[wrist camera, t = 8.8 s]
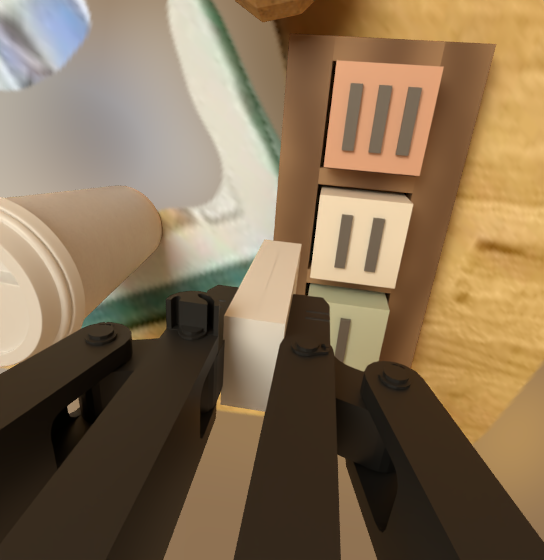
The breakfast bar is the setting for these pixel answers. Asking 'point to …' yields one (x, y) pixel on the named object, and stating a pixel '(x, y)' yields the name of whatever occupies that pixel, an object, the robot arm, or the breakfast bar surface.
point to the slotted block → (355, 323)
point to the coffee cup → (66, 260)
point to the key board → (419, 189)
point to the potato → (274, 8)
